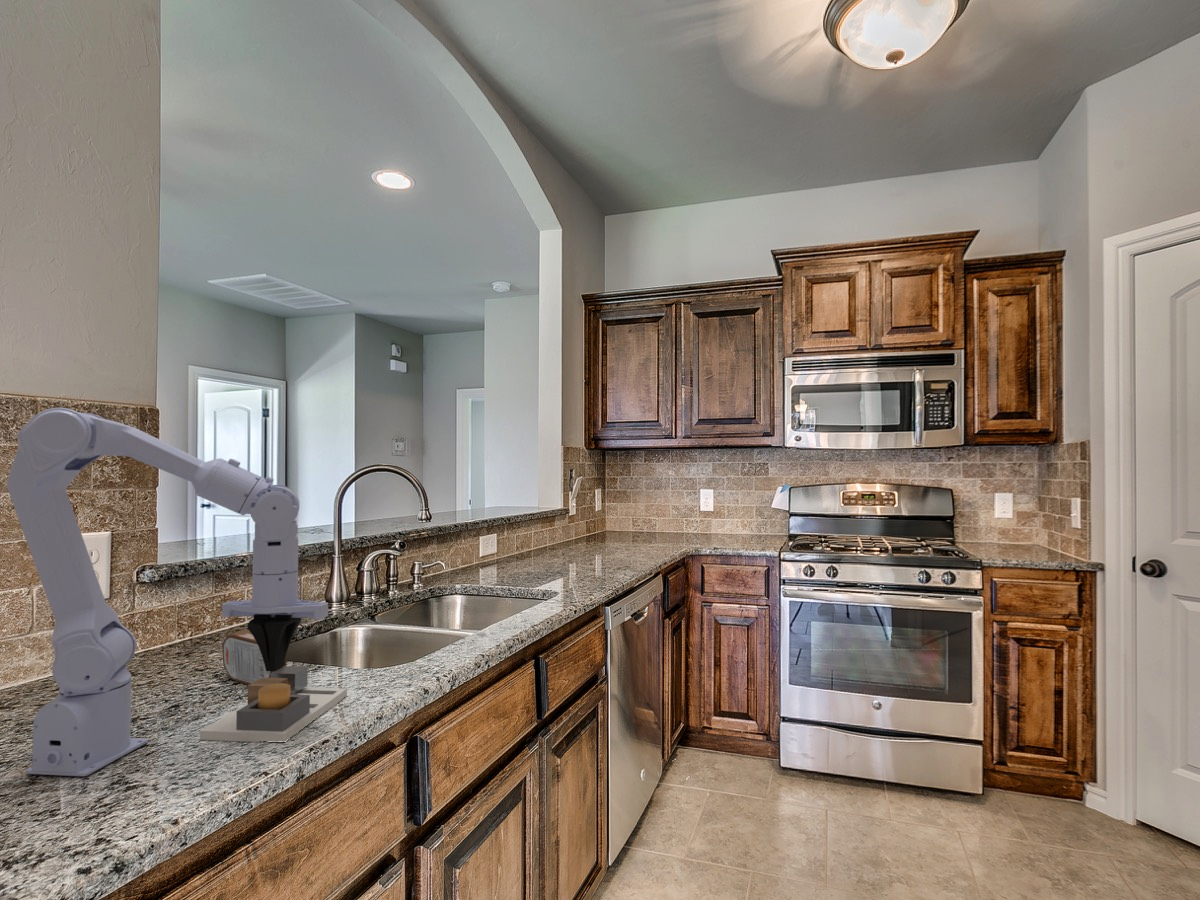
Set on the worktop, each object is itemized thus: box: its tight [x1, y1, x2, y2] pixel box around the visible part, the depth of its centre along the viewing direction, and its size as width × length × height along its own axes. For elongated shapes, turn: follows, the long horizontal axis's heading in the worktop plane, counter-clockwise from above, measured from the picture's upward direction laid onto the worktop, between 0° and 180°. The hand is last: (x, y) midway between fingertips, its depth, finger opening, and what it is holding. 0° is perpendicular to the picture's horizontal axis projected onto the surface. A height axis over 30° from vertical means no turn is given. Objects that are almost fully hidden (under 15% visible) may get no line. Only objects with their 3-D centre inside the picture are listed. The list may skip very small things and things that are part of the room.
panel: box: [199, 686, 348, 743], centre depth 93 cm, size 17×12×4 cm
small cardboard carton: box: [247, 678, 288, 704], centre depth 94 cm, size 4×4×3 cm
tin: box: [221, 629, 287, 686], centre depth 107 cm, size 15×3×8 cm, turn 59°
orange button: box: [258, 683, 290, 710], centre depth 89 cm, size 4×4×2 cm
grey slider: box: [271, 665, 308, 693], centre depth 100 cm, size 4×4×3 cm
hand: (274, 669), depth 89 cm, fingers closed
